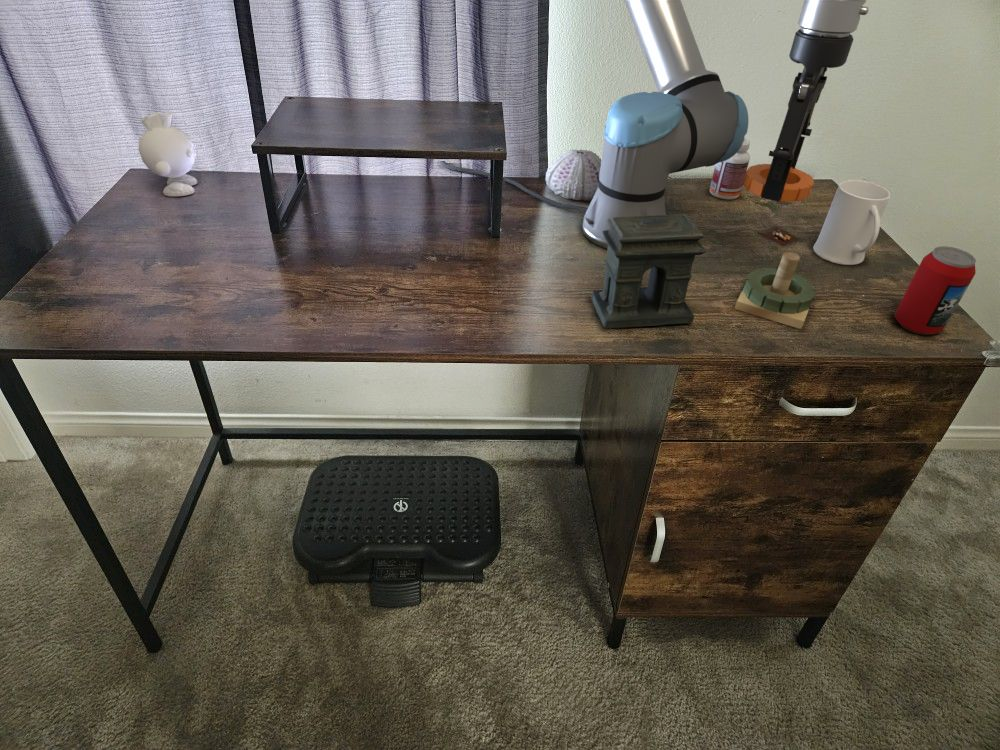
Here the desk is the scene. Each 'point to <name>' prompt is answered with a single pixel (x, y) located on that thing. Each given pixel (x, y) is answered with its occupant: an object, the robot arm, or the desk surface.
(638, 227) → the model
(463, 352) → the desk surface
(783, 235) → the diorama
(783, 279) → the stacker
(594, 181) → the sea urchin shell
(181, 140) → the white cartoon figurine
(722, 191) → the pill bottle
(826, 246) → the mug
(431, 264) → the desk surface
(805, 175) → the orange ring
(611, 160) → the robot arm
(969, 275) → the beverage can
